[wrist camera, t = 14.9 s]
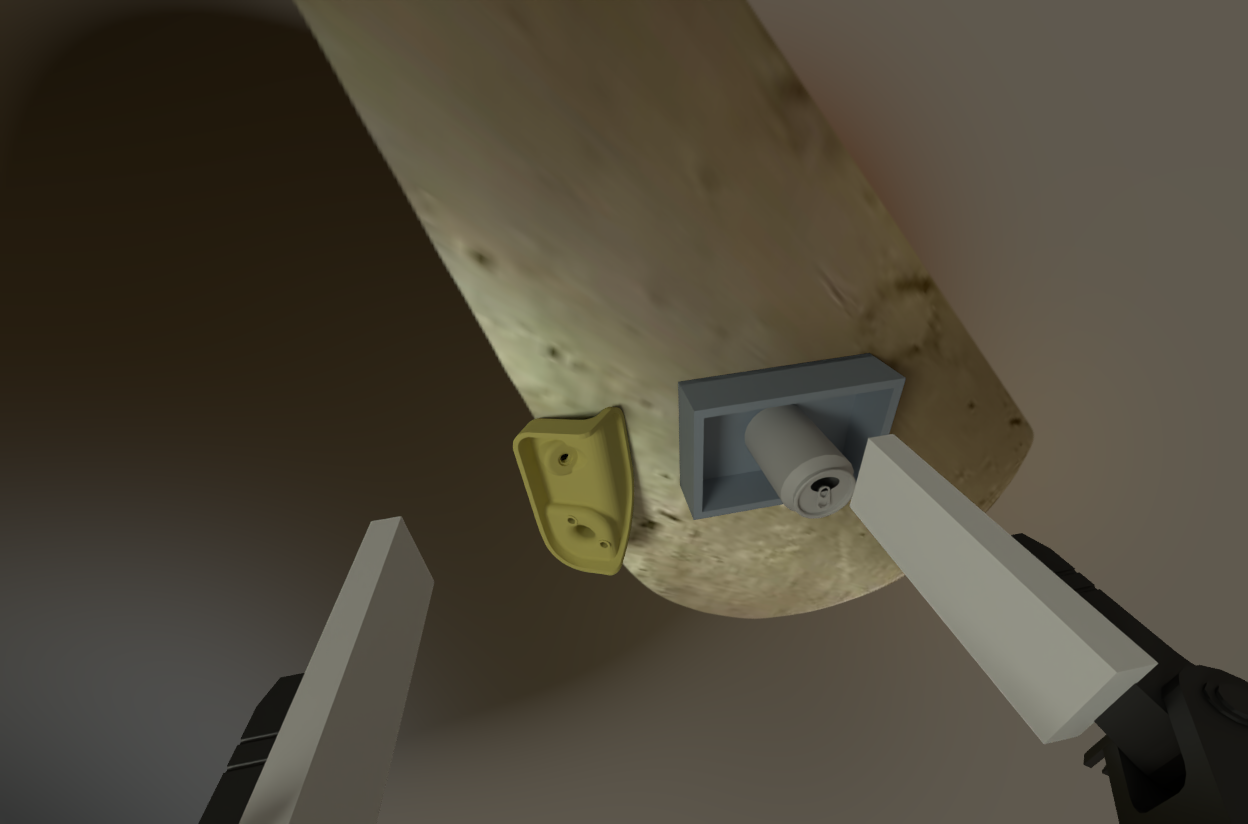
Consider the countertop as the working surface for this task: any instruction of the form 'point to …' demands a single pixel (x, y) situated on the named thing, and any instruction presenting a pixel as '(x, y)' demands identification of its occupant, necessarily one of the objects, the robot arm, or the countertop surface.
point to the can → (800, 461)
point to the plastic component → (580, 487)
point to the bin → (724, 406)
